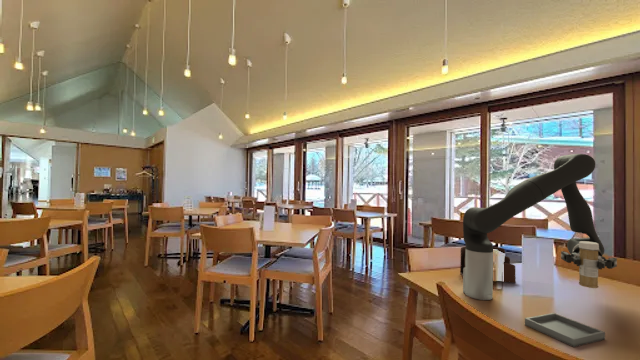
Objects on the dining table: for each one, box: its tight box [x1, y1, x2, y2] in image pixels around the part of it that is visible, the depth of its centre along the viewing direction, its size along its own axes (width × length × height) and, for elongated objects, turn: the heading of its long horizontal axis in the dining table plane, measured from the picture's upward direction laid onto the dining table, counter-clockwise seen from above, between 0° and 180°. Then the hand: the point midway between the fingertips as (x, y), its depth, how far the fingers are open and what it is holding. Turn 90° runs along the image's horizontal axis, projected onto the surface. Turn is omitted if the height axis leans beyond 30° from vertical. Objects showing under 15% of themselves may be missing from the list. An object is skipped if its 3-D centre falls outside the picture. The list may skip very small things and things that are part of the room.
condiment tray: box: [524, 312, 606, 348], centre depth 86 cm, size 13×13×2 cm
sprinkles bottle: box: [578, 241, 599, 289], centre depth 92 cm, size 5×5×14 cm
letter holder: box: [459, 245, 517, 284], centre depth 136 cm, size 10×20×14 cm, turn 85°
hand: (589, 264), depth 90 cm, fingers closed on sprinkles bottle, 4 cm apart
